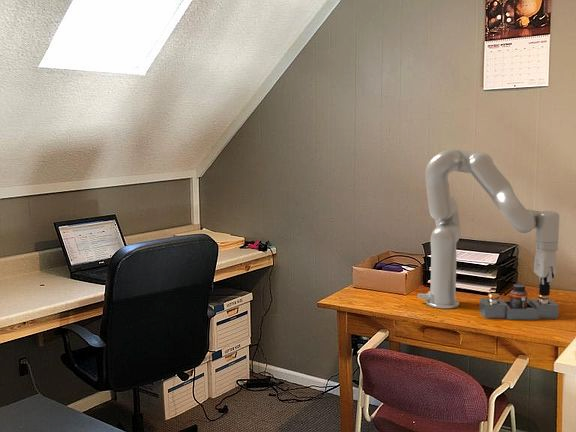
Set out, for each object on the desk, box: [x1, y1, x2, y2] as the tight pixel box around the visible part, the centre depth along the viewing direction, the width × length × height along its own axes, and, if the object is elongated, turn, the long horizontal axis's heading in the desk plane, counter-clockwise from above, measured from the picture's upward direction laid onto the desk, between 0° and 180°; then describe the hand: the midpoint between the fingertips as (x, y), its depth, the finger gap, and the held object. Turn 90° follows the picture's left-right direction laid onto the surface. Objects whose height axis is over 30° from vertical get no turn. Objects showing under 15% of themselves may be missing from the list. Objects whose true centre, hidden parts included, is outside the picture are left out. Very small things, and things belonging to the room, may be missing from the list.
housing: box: [478, 298, 560, 321], centre depth 228 cm, size 26×11×5 cm, turn 87°
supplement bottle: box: [509, 283, 528, 308], centre depth 228 cm, size 6×6×11 cm
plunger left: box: [487, 292, 501, 303], centre depth 228 cm, size 4×4×6 cm
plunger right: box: [537, 293, 551, 304], centre depth 227 cm, size 4×4×6 cm
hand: (544, 294), depth 227 cm, fingers closed
